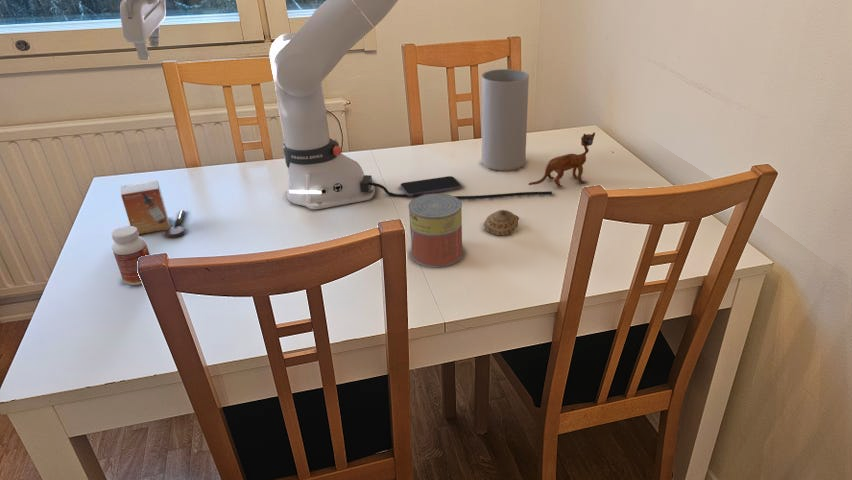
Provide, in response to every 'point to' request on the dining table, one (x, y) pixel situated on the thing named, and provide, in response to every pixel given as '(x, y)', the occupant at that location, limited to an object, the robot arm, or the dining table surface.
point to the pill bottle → (128, 252)
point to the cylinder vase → (504, 119)
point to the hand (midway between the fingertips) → (149, 52)
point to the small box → (145, 206)
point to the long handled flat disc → (176, 227)
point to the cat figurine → (568, 163)
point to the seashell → (501, 223)
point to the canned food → (436, 229)
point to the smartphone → (430, 185)
